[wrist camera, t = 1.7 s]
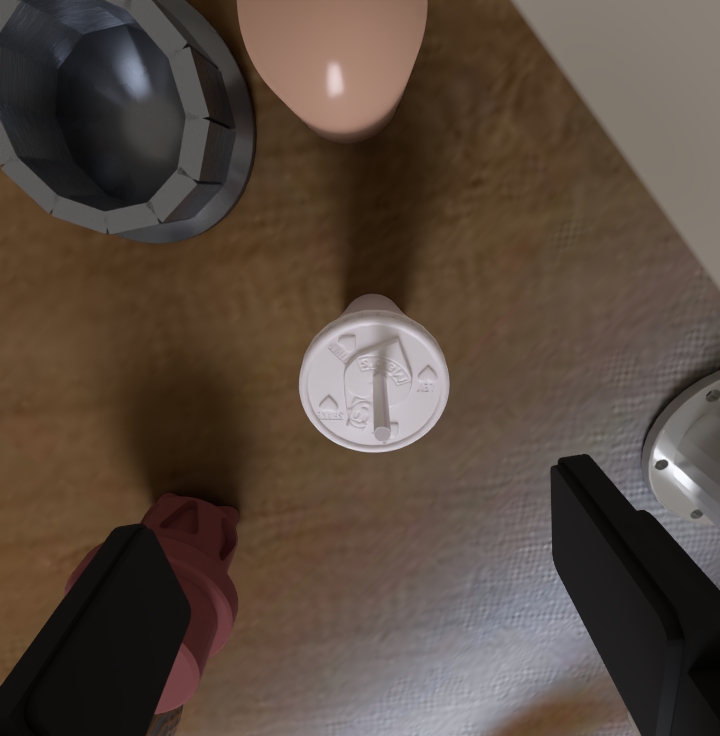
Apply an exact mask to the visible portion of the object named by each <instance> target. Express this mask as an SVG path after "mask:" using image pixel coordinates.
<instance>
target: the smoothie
mask: <svg viewBox="0 0 720 736" xmlns="http://www.w3.org/2000/svg"><path fill="white" fill-rule="evenodd" d="M299 390H300V397H301V401H302V404H303V407H304V409H305V412H306V414H307V415H308V417H309V419H310V420H311V422H312V423H313V424H314V426H315V427H316V428H317V429H318V430H319V431H320V432H321V433H322V434H324V435H325V436H326V437H327V438H329V439H330V440H332V441H333V442H335V443H337V444H339V445H341V446H344V447H346V448H349V449H353V450H357V451H363V452H385V451H391V450H395V449H399V448H402V447H404V446H407V445H409V444H411V443H413V442H415V441H416V440H418V439H419V438H421V437H422V436H423V435H425V434H426V433H427V432H428V431H429V430H430V429H431V428H432V427H433V426H434V425H435V423H436V422H437V421H438V419H439V418H440V416H441V414H442V412H443V410H444V408H445V405H446V403H447V399H448V394H449V374H448V369H447V366H446V362H445V357H444V355H443V353H442V351H441V349H440V347H439V345H438V343H437V341H436V339H435V338H434V337H433V336H432V335H431V334H430V333H429V332H428V331H427V330H426V329H425V328H424V327H423V326H422V325H420V324H419V323H417V322H415V321H414V320H412V319H410V318H409V317H407V316H405V315H404V314H403V312H402V311H401V310H400V309H399V308H398V307H397V306H396V304H395V303H394V302H393V301H392V300H390V299H389V298H387V297H385V296H383V295H379V294H366V295H363V296H360V297H358V298H356V299H355V300H354V301H352V302H351V303H350V304H349V306H348V307H347V308H346V310H345V311H344V312H343V313H342V315H341V316H340V317H339V318H338V319H336V320H335V321H333V322H331V323H329V324H328V325H327V326H325V327H324V328H323V329H322V330H321V331H320V332H319V333H318V334H317V335H316V336H315V337H314V339H313V340H312V342H311V344H310V345H309V347H308V349H307V351H306V352H305V355H304V359H303V363H302V367H301V372H300V379H299Z"/></svg>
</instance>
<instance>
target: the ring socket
mask: <svg viewBox="0 0 720 736" xmlns="http://www.w3.org/2000/svg"><path fill="white" fill-rule="evenodd" d="M256 135H257V133H256V120H255V113H254V108H253V102H252V98H251V95H250V92H249V88H248V85H247V82H246V80H245V77H244V75H243V73H242V70H241V68H240V66H239V64H238V62H237V60H236V59H235V57H234V55H233V53H232V52H231V50H230V48H229V47H228V45H227V44H226V43H225V41H224V40H223V39H222V37H221V36H220V34H219V33H218V32H217V31H216V30H215V29H214V28H213V27H212V26H211V24H210V23H209V22H208V21H207V20H206V19H205V18H204V17H203V16H202V15H201V14H200V13H199V12H198V11H197V10H196V9H194V8H193V7H192V6H191V5H190V4H189V3H188V2H186V1H185V0H0V165H1V166H3V167H2V170H3V171H4V172H5V173H6V174H7V175H8V176H9V177H10V178H11V179H12V180H13V181H14V182H15V183H17V184H18V185H19V186H20V187H21V188H22V189H23V190H24V191H25V192H26V193H27V194H28V195H29V196H30V197H31V198H33V199H34V200H35V201H36V202H37V203H38V204H39V205H40V206H41V207H42V208H43V209H44V210H45V211H46V212H47V213H49V214H51V213H52V216H54V217H57V218H60V219H63V220H66V221H69V222H72V223H75V224H78V225H81V226H84V227H87V228H90V229H92V230H95V231H98V232H101V233H104V234H115V235H118V236H120V237H123V238H127V239H130V240H134V241H139V242H146V243H169V242H176V241H180V240H184V239H188V238H191V237H195V236H197V235H199V234H201V233H204V232H206V231H208V230H209V229H211V228H212V227H214V226H215V225H217V224H218V223H219V222H220V221H222V220H223V219H224V218H225V217H226V216H227V215H228V214H229V213H230V212H231V210H232V209H233V208H234V207H235V206H236V204H237V203H238V201H239V199H240V198H241V196H242V195H243V193H244V191H245V188H246V186H247V184H248V182H249V179H250V176H251V172H252V169H253V165H254V159H255V153H256Z"/></svg>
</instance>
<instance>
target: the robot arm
mask: <svg viewBox="0 0 720 736" xmlns="http://www.w3.org/2000/svg"><path fill="white" fill-rule="evenodd" d="M641 464H642V472H643V477H644V480H645V482H646V485H647V487H648V489H649V490H650V492H651V493H652V494H653V496H654V497H655V498H656V499H657V500H658V501H659V502H660V503H661V504H662V505H663V506H664V507H665V508H666V509H667V510H668V511H669V512H671V513H673V514H674V515H676V516H677V517H679V518H682V519H684V520H687V521H689V522H693V523H698V524H704V525H716V526H717V527H718V528H719V529H720V370H719V371H717V372H715V373H713V374H711V375H708V376H706V377H704V378H702V379H701V380H699V381H698V382H696V383H695V384H693V385H692V386H690V387H688V388H687V389H685V390H684V391H683V392H682V393H681V394H680V395H678V396H677V397H676V398H675V399H674V400H673V401H672V402H671V403H669V405H668V406H667V407H666V408H665V409H664V411H663V412H662V413H661V414H660V415H659V417H658V418H657V419H656V421H655V423H654V425H653V426H652V428H651V430H650V431H649V433H648V436H647V439H646V441H645V444H644V447H643V453H642V461H641ZM551 514H552V555H553V561H554V564H555V567H556V570H557V572H558V574H559V576H560V578H561V580H562V582H563V584H564V586H565V588H566V590H567V592H568V594H569V596H570V598H571V599H572V601H573V603H574V605H575V607H576V609H577V611H578V613H579V615H580V617H581V619H582V621H583V623H584V625H585V627H586V629H587V631H588V633H589V635H590V637H591V639H592V640H593V642H594V644H595V646H596V648H597V650H598V652H599V654H600V656H601V658H602V660H603V662H604V664H605V666H606V668H607V670H608V672H609V674H610V676H611V678H612V680H613V681H614V683H615V685H616V687H617V689H618V691H619V693H620V695H621V697H622V699H623V701H624V703H625V705H626V707H627V709H628V711H629V713H630V715H631V717H632V719H633V721H634V722H635V724H636V726H637V728H638V730H639V732H640V734H641V736H720V590H719V589H718V588H717V587H716V586H715V585H714V583H713V582H712V581H711V580H710V579H709V578H708V577H707V576H706V575H705V573H704V572H703V571H702V570H701V569H700V568H699V567H698V566H697V564H696V563H695V562H694V561H693V560H692V559H691V558H690V557H689V555H688V554H687V553H686V552H685V551H684V550H683V549H682V548H681V546H680V545H679V544H678V543H677V542H676V541H675V540H674V539H673V537H672V536H671V535H670V534H669V533H668V532H667V531H666V530H665V528H664V527H663V526H662V525H661V524H660V523H659V522H658V521H657V519H656V518H655V517H653V516H652V515H651V514H650V513H649V512H647V511H645V510H639V511H636V510H635V508H634V507H633V506H632V505H631V504H630V503H629V501H628V500H627V499H626V498H625V497H624V496H623V494H622V493H621V492H620V491H619V490H618V489H617V487H616V486H615V485H614V484H613V483H612V481H611V480H610V479H609V478H608V477H607V476H606V474H605V473H604V472H603V471H602V470H601V469H600V467H599V466H598V465H597V464H596V463H595V462H594V460H593V459H592V458H591V457H590V456H589V455H587V454H582V455H575V456H569V457H562V458H559V460H558V465H555V466H552V467H551ZM190 620H191V606H190V603H189V601H188V599H187V597H186V595H185V593H184V591H183V589H182V587H181V585H180V583H179V581H178V579H177V577H176V575H175V573H174V571H173V569H172V567H171V565H170V563H169V561H168V559H167V557H166V555H165V553H164V551H163V549H162V547H161V545H160V543H159V541H158V539H157V537H156V535H155V533H154V531H153V530H152V529H148V528H147V526H146V525H144V524H140V523H139V524H133V525H126V526H120V527H117V528H115V529H114V530H113V531H112V532H111V533H110V535H109V536H108V537H107V539H106V540H105V542H104V543H103V544H102V546H101V547H100V549H99V550H98V551H97V553H96V554H95V556H94V557H93V558H92V560H91V561H90V563H89V564H88V565H87V567H86V568H85V570H84V571H83V572H82V574H81V575H80V576H79V578H78V579H77V581H76V582H75V583H74V585H73V586H72V588H71V589H70V590H69V592H68V593H67V595H66V596H65V597H64V599H63V600H62V602H61V603H60V604H59V606H58V607H57V608H56V610H55V611H54V613H53V614H52V615H51V617H50V618H49V620H48V621H47V622H46V624H45V625H44V627H43V628H42V629H41V631H40V632H39V634H38V635H37V636H36V638H35V639H34V641H33V642H32V643H31V645H30V646H29V647H28V649H27V650H26V652H25V653H24V654H23V656H22V657H21V659H20V660H19V661H18V663H17V664H16V666H15V667H14V668H13V670H12V671H11V673H10V674H9V675H8V677H7V678H6V679H5V681H4V682H3V684H2V685H1V686H0V736H146V734H147V731H148V729H149V726H150V723H151V721H152V718H153V716H154V713H155V711H156V708H157V705H158V703H159V700H160V698H161V695H162V693H163V690H164V687H165V685H166V682H167V680H168V677H169V675H170V672H171V670H172V667H173V664H174V662H175V659H176V657H177V654H178V652H179V649H180V646H181V644H182V641H183V639H184V636H185V634H186V631H187V628H188V626H189V623H190Z"/></svg>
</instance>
